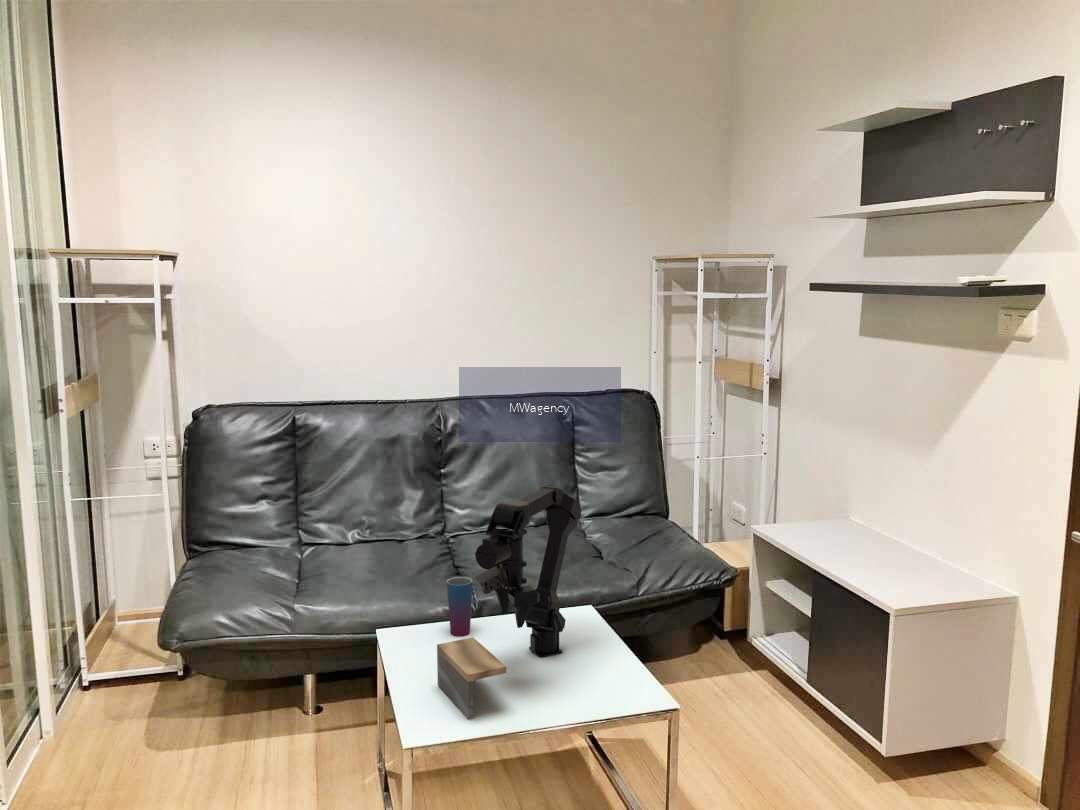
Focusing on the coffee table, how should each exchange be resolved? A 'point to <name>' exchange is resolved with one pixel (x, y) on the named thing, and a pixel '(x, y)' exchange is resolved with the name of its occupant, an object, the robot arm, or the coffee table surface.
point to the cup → (459, 605)
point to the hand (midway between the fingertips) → (511, 620)
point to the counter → (464, 670)
